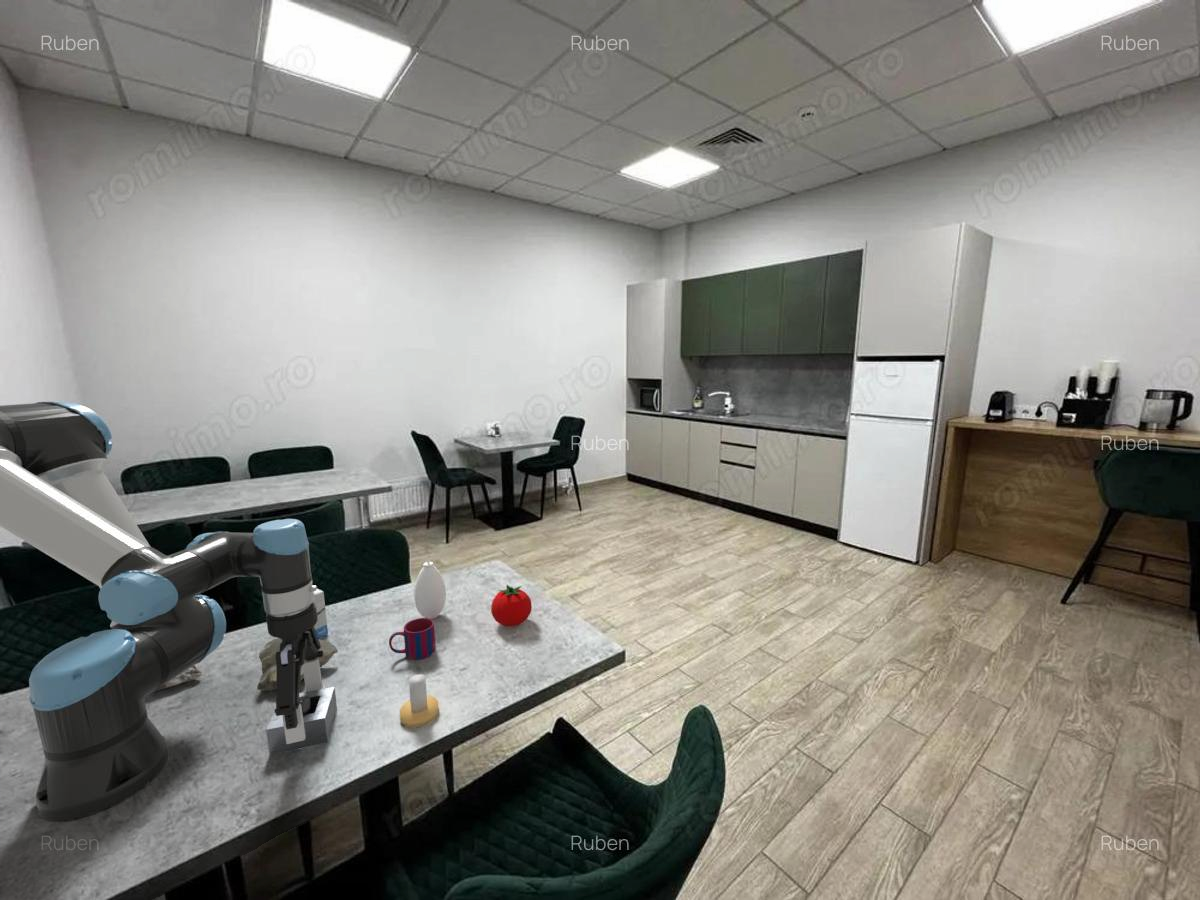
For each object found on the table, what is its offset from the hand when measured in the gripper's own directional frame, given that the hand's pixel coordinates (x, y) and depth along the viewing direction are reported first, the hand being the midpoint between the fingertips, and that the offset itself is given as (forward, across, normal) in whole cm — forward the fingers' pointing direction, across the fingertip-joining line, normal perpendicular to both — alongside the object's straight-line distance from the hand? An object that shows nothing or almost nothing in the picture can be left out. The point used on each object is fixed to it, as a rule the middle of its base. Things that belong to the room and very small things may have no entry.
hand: (306, 714), depth 90 cm
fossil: (+4, +19, +6) cm, 20 cm away
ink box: (+3, +37, +8) cm, 38 cm away
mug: (+4, +20, -17) cm, 27 cm away
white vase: (+4, +36, -21) cm, 42 cm away
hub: (+4, -2, -19) cm, 20 cm away
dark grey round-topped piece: (+4, 0, +1) cm, 4 cm away
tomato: (+4, +26, -41) cm, 49 cm away
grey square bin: (+4, 0, +1) cm, 4 cm away
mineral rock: (+3, +26, +33) cm, 42 cm away
